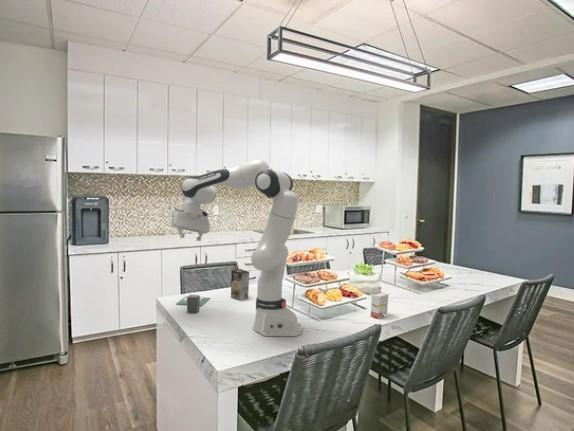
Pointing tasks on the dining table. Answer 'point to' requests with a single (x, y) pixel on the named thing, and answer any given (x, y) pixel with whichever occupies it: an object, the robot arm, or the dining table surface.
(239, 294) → the coffee box
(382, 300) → the ink cartridge box
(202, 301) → the board
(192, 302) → the plug
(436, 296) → the dining table surface
